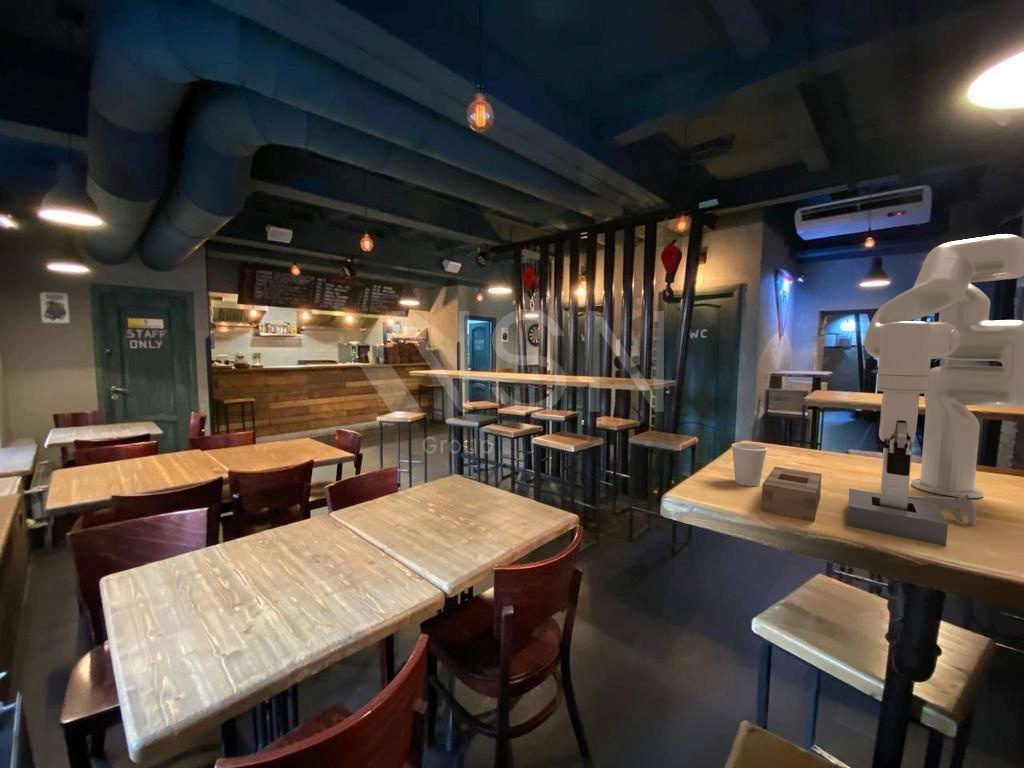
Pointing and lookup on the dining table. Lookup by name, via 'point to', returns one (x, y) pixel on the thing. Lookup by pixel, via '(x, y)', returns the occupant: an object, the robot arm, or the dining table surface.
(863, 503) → the seat block
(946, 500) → the caliper
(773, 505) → the slotted block
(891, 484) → the rectangular block
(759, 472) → the dixie cup
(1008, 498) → the dining table surface
